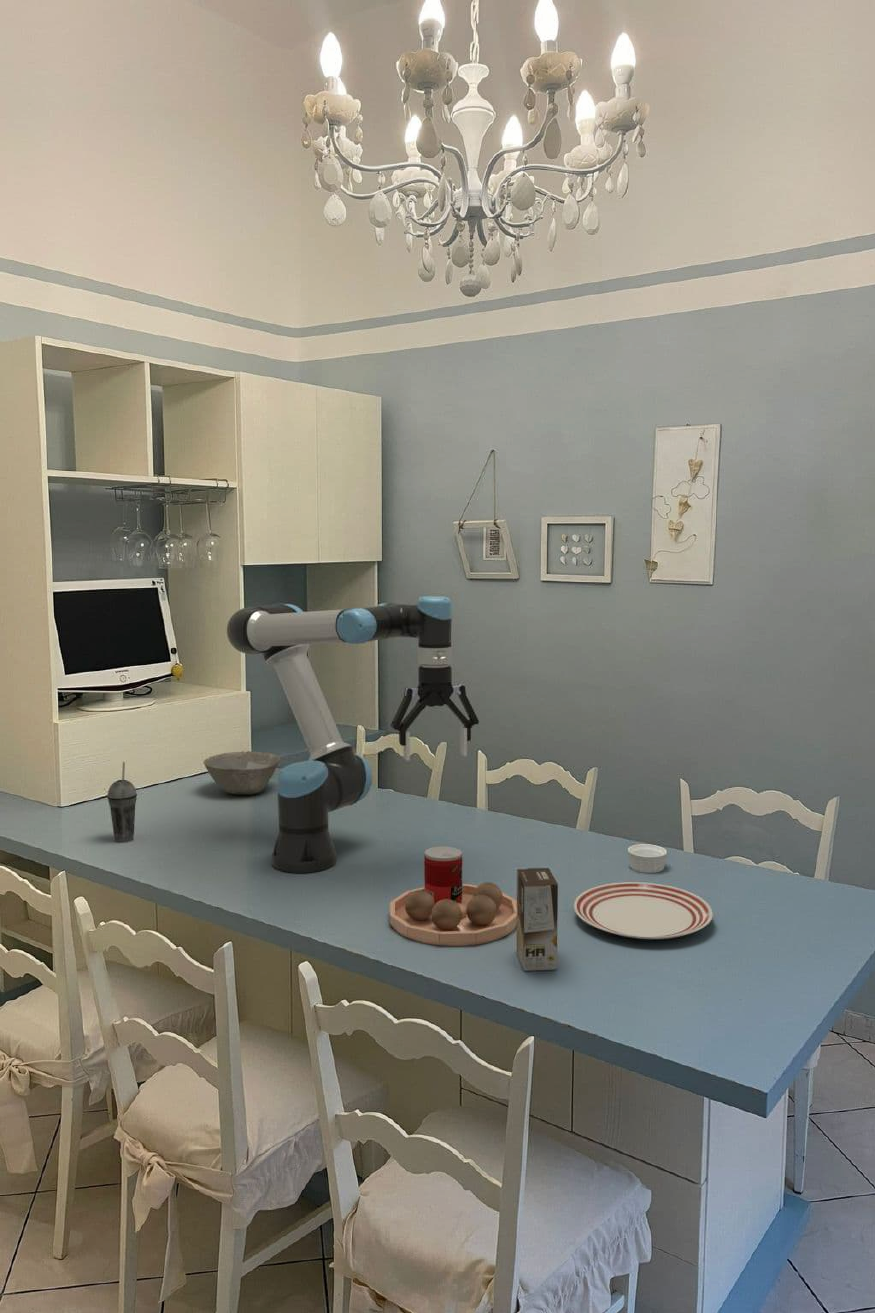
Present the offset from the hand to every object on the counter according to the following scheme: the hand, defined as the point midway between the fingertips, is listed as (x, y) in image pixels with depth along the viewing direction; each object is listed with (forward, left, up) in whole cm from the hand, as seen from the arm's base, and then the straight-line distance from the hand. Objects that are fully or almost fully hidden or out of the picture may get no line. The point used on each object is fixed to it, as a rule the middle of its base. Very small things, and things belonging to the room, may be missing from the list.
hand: (435, 757), depth 228 cm
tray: (+17, -24, -27) cm, 40 cm away
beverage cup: (-81, -17, -27) cm, 87 cm away
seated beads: (+18, -25, -26) cm, 40 cm away
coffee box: (+39, -34, -27) cm, 58 cm away
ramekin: (+43, +24, -27) cm, 56 cm away
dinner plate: (+51, -7, -27) cm, 58 cm away
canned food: (+12, -19, -26) cm, 34 cm away
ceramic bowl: (-83, +33, -27) cm, 93 cm away
